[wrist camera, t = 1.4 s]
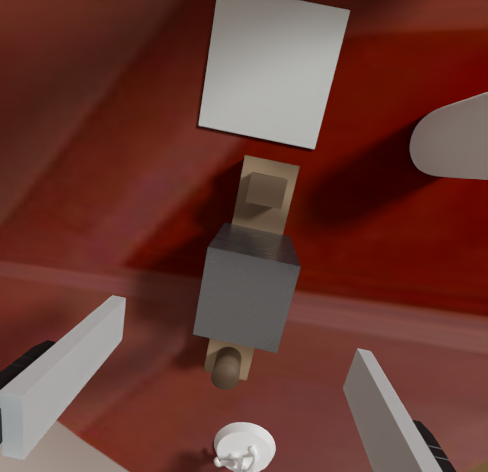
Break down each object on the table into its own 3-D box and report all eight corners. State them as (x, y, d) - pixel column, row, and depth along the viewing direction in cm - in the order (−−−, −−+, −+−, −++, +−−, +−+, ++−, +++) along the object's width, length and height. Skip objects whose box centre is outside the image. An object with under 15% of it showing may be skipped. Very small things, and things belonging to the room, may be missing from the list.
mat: (219, -13, 24) (218, -16, 24) (348, 12, 24) (350, 10, 24) (199, 125, 27) (198, 125, 27) (313, 149, 27) (314, 149, 27)
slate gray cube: (224, 222, 26) (207, 246, 18) (289, 236, 26) (300, 266, 18) (212, 287, 28) (192, 334, 20) (273, 300, 27) (276, 353, 20)
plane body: (247, 156, 28) (242, 153, 21) (294, 166, 28) (304, 166, 21) (210, 347, 34) (197, 392, 27) (248, 356, 34) (244, 403, 27)
